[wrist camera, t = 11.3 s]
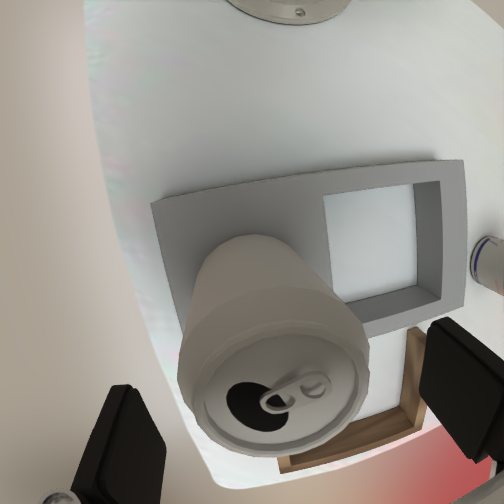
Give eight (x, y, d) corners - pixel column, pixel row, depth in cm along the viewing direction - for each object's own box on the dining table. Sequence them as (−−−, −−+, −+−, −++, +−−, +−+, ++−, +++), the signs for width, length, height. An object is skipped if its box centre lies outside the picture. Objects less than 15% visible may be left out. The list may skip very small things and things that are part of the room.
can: (173, 274, 20) (124, 386, 9) (267, 208, 20) (329, 253, 8) (238, 353, 22) (255, 489, 11) (325, 297, 22) (411, 403, 10)
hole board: (162, 198, 23) (150, 203, 19) (435, 160, 24) (463, 159, 20) (198, 348, 26) (195, 375, 22) (439, 291, 27) (463, 306, 23)
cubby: (258, 368, 27) (263, 395, 23) (417, 326, 28) (438, 344, 24) (274, 448, 30) (280, 474, 26) (406, 409, 31) (421, 429, 27)
